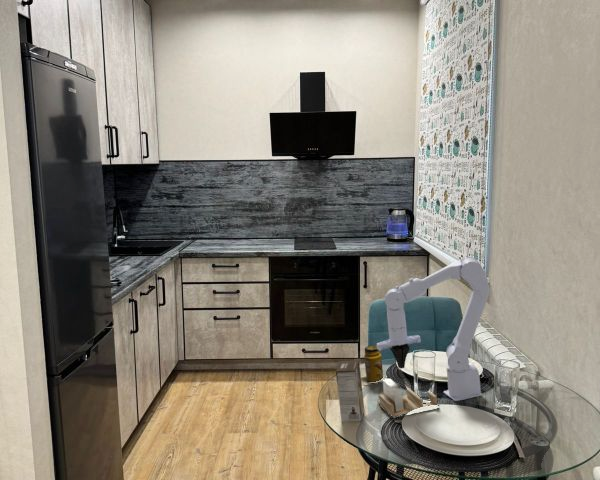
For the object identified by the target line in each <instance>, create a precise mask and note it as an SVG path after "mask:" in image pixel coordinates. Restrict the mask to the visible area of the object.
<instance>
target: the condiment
mask: <svg viewBox="0 0 600 480" xmlns="http://www.w3.org/2000/svg"><path fill="white" fill-rule="evenodd" d="M363 358H364V367H365V368H364V369H365V376H363V377H362V376H361V383H362V385H364V386H369V385H372V384H371V383H368V382H376V381H379V380H381V379H382V378H383V377H384V371H383V363H382V362H383V361H382V360H383V359H382V354H381V350H378V349H377V345H367V346H366V347H364V357H363Z"/></svg>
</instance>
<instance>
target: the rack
mask: <svg viewBox="0 0 600 480" xmlns="http://www.w3.org/2000/svg"><path fill="white" fill-rule="evenodd" d="M405 391H406V394H404V395H402V398H403V408H404V410H403V411H398V412H396V411H394V405H393V404H392V403H391V402H390V401H388V400H387V399H386V398H385V397H384V394H382V393H380V394H378V399H379V400H377V404H378V403H379V404H380V405H381V406H382V407H383V408H384V409H385V410H386V411H387V412H388V413H389V414H390V415H392V416H397V415H402V414H406V413H408V412H410V411H412V410H414V409H417V408H420V407H424V406H428V405H437V404H438V398H437V395H436V394H435V393H433V392H432V393H428V394H429V399H430V401H431V402H430V403H426V404H423V400H422V398H420V397H419V396H418V395H417V394H415V393H416V392H414V391H413V390H412V389H410V388H406V390H405ZM379 404H378V405H379ZM380 405H379V406H380ZM381 406H380V407H381ZM382 407H381V408H382ZM383 408H382V409H383ZM384 409H383V410H384ZM385 410H384V411H385ZM386 411H385V412H386ZM387 412H386V413H387ZM388 413H387V414H388ZM389 414H388V415H389ZM390 415H389V416H390Z"/></svg>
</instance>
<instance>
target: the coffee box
mask: <svg viewBox="0 0 600 480" xmlns="http://www.w3.org/2000/svg"><path fill="white" fill-rule="evenodd" d="M335 376H336V386H337V392H338V393H337V394H338V406H339V413H340V420H341V422H343V423H344V422H361V421H363V420H362V419H363V415H364V412H365V411H364V410H365V402H364V394H363V393H364V392H363V383H362V382H361V377H362V375H361V365H360V360H359V359H358V360H357V359H356V360H355V359H354V360H340V361H338V366H337V368H336V369H335Z"/></svg>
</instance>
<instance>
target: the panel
mask: <svg viewBox="0 0 600 480" xmlns="http://www.w3.org/2000/svg"><path fill="white" fill-rule="evenodd" d="M382 387H383V388H382V389H383V396H384V397H385V398H386V399H387V400H388V401H390V402H391V403H392V404H393V405H394V411H396V412H398V411H403V410H404V408H403V398H402V396H403V389H402V387H401V386H400V385H398V383H396V382H395V381H393V380H392V379H391V378H385V380H383V382H382Z"/></svg>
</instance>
